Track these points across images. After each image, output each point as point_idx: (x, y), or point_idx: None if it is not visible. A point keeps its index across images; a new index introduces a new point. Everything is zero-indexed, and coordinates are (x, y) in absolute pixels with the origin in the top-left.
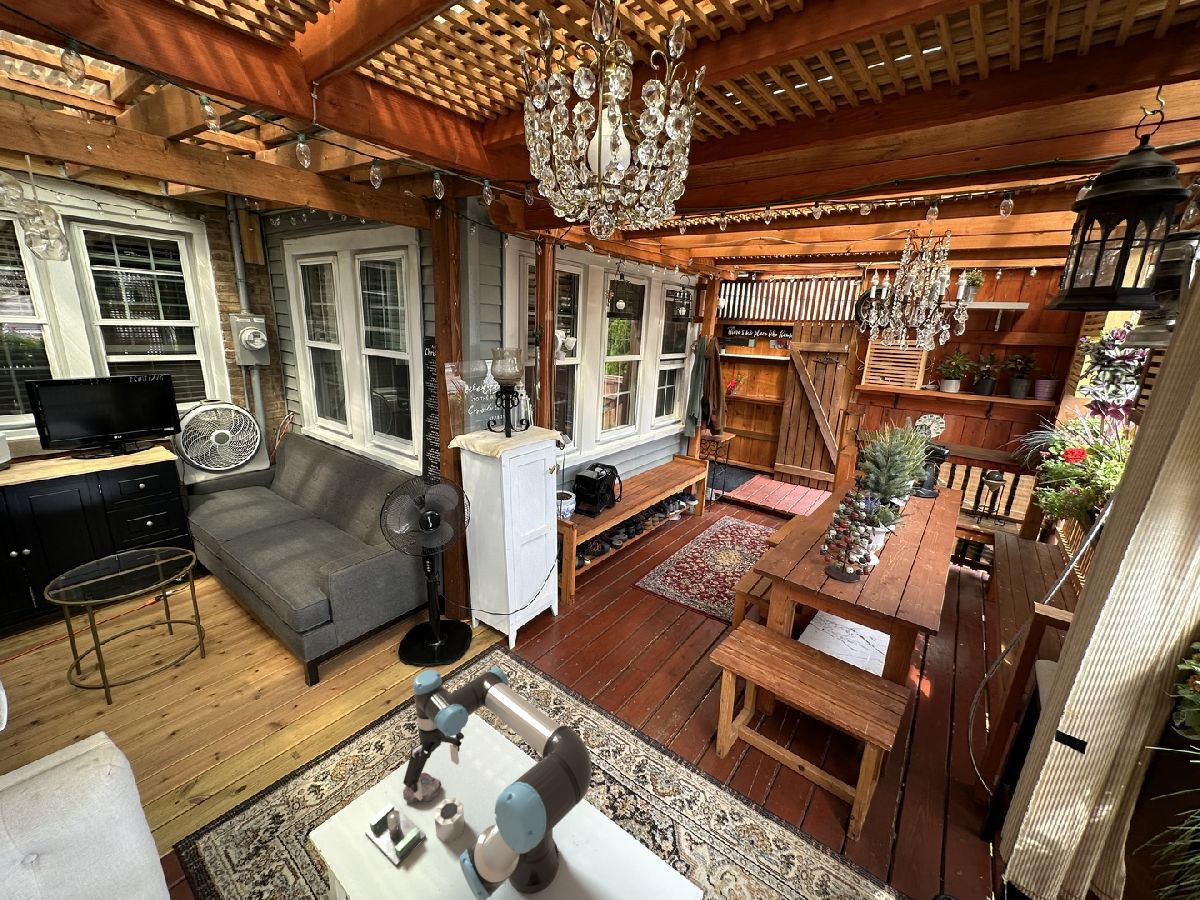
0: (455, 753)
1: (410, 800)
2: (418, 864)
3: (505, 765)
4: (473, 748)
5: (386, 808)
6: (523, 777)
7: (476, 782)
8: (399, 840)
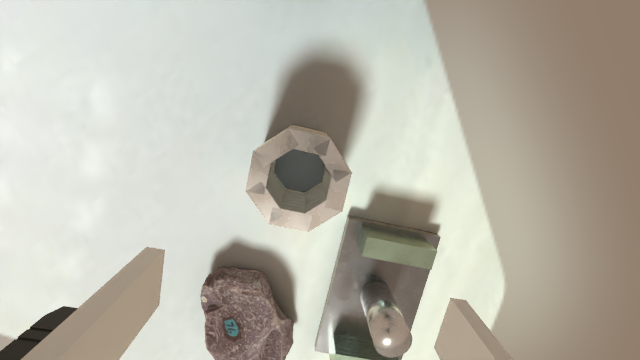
0: (102, 323)
1: (289, 322)
2: (413, 186)
3: (39, 121)
4: (49, 264)
5: None
6: None
7: (144, 180)
8: (387, 272)
